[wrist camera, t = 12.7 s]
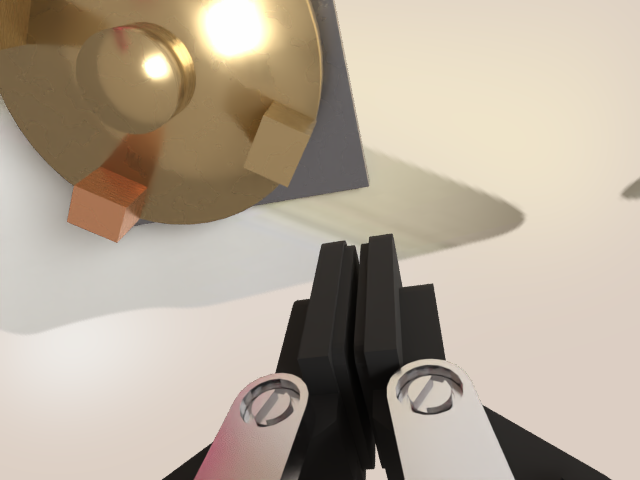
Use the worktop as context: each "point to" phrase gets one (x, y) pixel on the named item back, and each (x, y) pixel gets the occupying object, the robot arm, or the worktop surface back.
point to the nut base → (327, 126)
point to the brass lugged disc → (163, 102)
